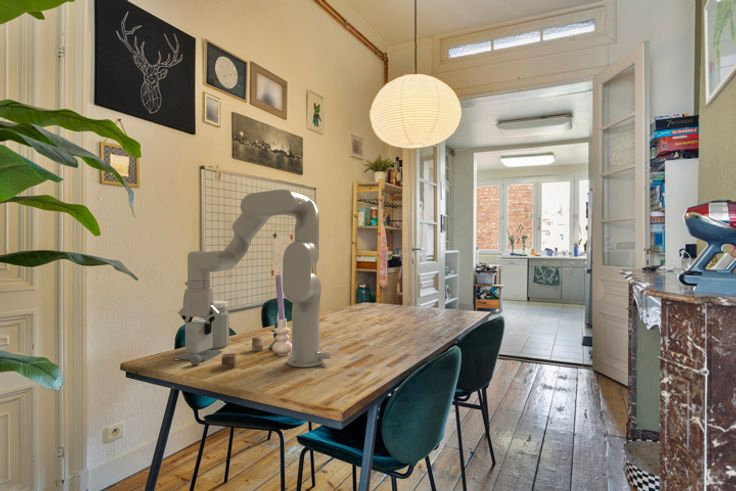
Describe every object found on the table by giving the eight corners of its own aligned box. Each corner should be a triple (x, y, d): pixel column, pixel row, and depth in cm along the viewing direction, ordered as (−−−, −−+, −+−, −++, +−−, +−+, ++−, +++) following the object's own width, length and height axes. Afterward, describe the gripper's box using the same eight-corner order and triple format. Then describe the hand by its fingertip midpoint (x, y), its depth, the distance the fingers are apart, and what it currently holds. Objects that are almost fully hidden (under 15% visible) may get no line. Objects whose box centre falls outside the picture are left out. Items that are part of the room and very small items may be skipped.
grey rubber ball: (203, 363, 141) (203, 353, 141) (197, 366, 137) (197, 356, 137) (193, 363, 141) (193, 352, 141) (187, 366, 138) (187, 355, 138)
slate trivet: (221, 352, 155) (221, 350, 155) (204, 361, 143) (204, 359, 143) (192, 351, 157) (192, 349, 157) (173, 360, 145) (173, 357, 145)
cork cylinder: (264, 349, 160) (264, 336, 160) (260, 352, 156) (260, 339, 156) (254, 349, 160) (254, 336, 160) (250, 351, 156) (250, 338, 156)
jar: (217, 350, 158) (218, 304, 157) (197, 348, 161) (197, 302, 161) (234, 344, 167) (234, 300, 167) (215, 342, 170) (215, 299, 170)
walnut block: (235, 365, 140) (235, 353, 140) (234, 368, 136) (234, 356, 136) (223, 365, 139) (223, 354, 139) (221, 369, 135) (221, 357, 135)
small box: (201, 346, 155) (201, 319, 155) (213, 348, 153) (212, 320, 152) (184, 352, 147) (184, 322, 147) (196, 353, 145) (196, 324, 145)
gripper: (170, 285, 147) (170, 335, 147) (215, 286, 145) (215, 336, 145) (183, 283, 155) (183, 330, 155) (225, 284, 152) (226, 332, 152)
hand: (199, 333), depth 150 cm, fingers closed on small box, 6 cm apart
